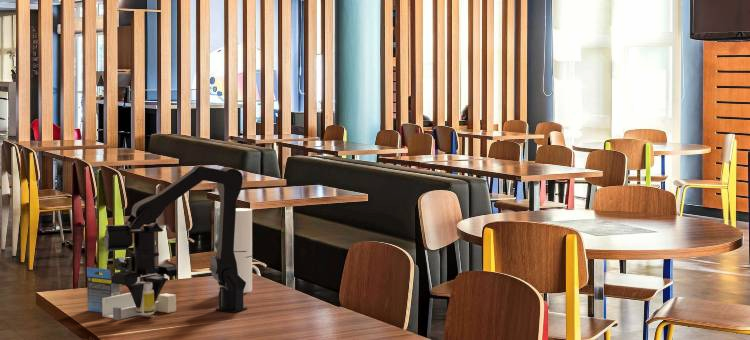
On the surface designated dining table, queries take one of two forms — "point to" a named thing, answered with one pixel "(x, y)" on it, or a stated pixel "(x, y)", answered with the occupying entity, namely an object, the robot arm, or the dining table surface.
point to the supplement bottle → (146, 300)
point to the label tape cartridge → (99, 288)
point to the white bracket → (126, 307)
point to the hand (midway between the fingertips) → (145, 306)
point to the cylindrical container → (244, 245)
